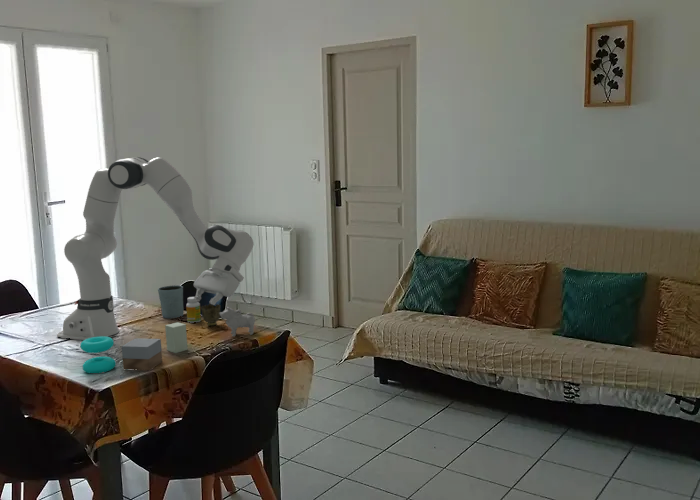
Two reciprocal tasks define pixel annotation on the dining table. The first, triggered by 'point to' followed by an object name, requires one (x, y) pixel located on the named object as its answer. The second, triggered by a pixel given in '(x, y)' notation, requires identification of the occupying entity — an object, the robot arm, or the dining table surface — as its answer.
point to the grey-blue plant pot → (171, 301)
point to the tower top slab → (141, 348)
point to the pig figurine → (238, 320)
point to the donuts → (98, 346)
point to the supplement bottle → (193, 310)
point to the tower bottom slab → (143, 362)
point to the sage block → (176, 337)
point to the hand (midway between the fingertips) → (203, 302)
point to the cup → (211, 314)
